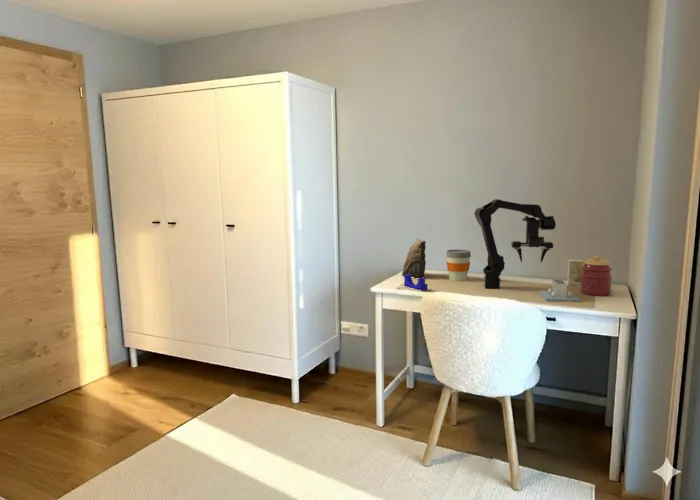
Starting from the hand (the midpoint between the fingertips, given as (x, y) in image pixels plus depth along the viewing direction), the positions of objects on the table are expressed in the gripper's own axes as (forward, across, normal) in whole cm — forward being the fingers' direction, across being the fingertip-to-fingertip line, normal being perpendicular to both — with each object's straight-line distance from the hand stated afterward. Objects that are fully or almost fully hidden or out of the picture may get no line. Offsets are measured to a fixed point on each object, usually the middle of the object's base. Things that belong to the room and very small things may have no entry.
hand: (531, 262), depth 248 cm
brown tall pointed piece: (+12, -58, +17) cm, 62 cm away
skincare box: (+12, +22, +7) cm, 26 cm away
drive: (+11, +9, -23) cm, 27 cm away
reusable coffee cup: (+12, -34, +12) cm, 39 cm away
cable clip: (+12, -55, -13) cm, 58 cm away
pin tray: (+12, +9, -23) cm, 27 cm away
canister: (+12, +26, -12) cm, 32 cm away
